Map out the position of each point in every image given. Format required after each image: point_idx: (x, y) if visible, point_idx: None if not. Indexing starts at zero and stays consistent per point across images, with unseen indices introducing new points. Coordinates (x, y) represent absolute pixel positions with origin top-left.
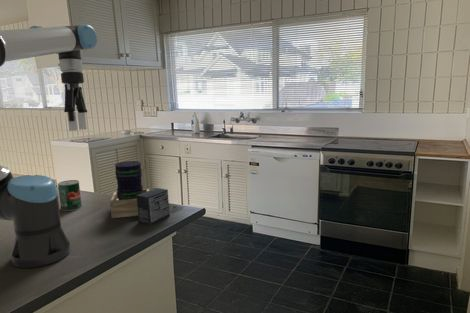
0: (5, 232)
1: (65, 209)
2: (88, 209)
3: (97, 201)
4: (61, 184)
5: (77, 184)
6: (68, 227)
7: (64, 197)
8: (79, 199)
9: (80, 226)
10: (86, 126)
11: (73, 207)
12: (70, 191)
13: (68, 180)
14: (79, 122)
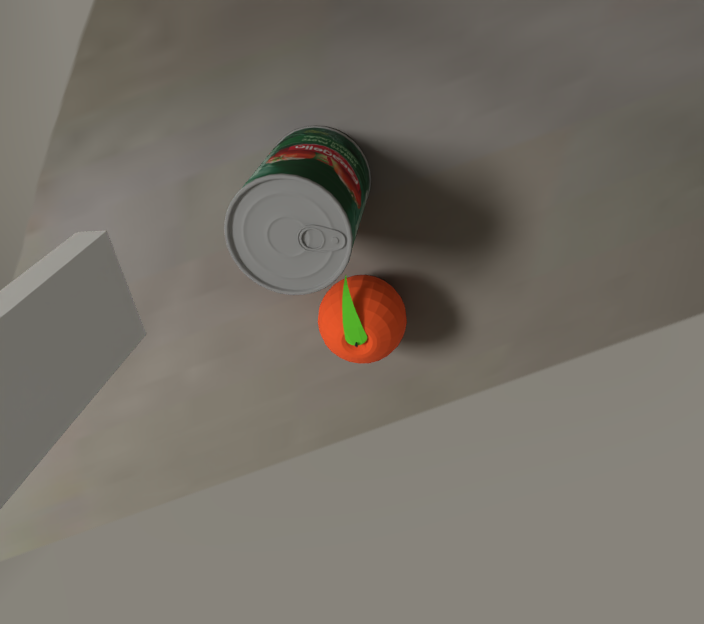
0: (612, 342)
1: (368, 193)
2: (355, 67)
3: (208, 61)
4: (322, 267)
5: (298, 173)
6: (644, 77)
7: (360, 217)
8: (314, 141)
9: (651, 8)
10: (63, 254)
11: (359, 155)
12: (349, 194)
13: (234, 256)
14: (74, 399)
